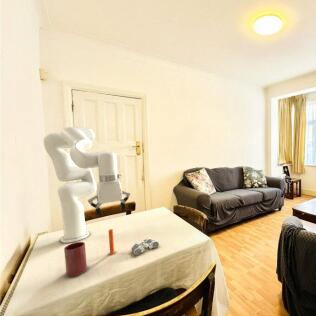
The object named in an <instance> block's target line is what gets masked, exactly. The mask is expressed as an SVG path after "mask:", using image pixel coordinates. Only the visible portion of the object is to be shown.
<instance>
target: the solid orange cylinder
mask: <svg viewBox="0 0 316 316" xmlns="http://www.w3.org/2000/svg"><path fill="white" fill-rule="evenodd" d="M108 240H109V241H108V243H109V254H110V255H114V254H115V242H114V241H115V240H114V229H113V228H109V229H108Z"/></svg>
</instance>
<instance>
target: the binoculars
mask: <svg viewBox="0 0 316 316" xmlns="http://www.w3.org/2000/svg"><path fill="white" fill-rule="evenodd" d="M159 245H160V242H159V241H157V240H154V239H152V238H151V237H148V238H147V239H144V240H142V241H141V242H140V243H138V242H135V243H134V244H133V245H132V246H131V248H130V249H131V251H132V252H133V254H134V255H135V256H139V255H141V253H143V252H144V251H145V248H149V249H151V250H152V249H155V248H158V247H159Z"/></svg>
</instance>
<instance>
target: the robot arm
mask: <svg viewBox="0 0 316 316" xmlns="http://www.w3.org/2000/svg"><path fill="white" fill-rule="evenodd" d="M95 139H96V134H95V132H94V130H92V129H91V128H89V127H83V126H82V127H81V126H79V127H78V126H68V127H64V128H63V129H62V130H61V131H60V132H53V133H52V132H51V133H47V134H45V136H44V137H43V146H44V150H45V152H46V153H47V154H48V156H49V157H50V159H51V161H52V165H53V168H54V171H55V175H56V177H57V180H58V181H60V182H63V183H64V184H62V185H60V186H59V187H58V189H57V196H58V198H59V201H60V206H61V216H62V227H63V236H62V237H60V242H61V243H64V244H65V243H66V244H68V243H76V242H79V241H81V240H84V239H86V238H87V237H88V236H89V235H90V231H88V230H86V220H85V207H84V204H83V203H82V202H81V201H80V199H83V198H86V197H90V198H89V199H87V202H88V204H89V205H90V206H91V207H92V208H94V209H95V215H96V216H98V217H99V218H100V217H101V216H102V214H101V205H103V204H109V203H114V202H119V201H120V204H119V205H120V211H121V212H122V213H123V212H125V210H126V202H127V201H128V200H129V198H130V196H131V193H130V192H128V191H124V190H123V189H122V184H121V181H120V178H122V174H118V159H117V154H116V152H112V151H111V152H107V151H90V150H91V148H92V147H93V142H94V141H95ZM65 149H69V152H67V151H66V150H65ZM94 168H98V181H97V183H96V180H95V176H94V174H93V171H92V169H94ZM80 180H81V181H80ZM72 181H73V182H72ZM74 181H75V182H74ZM65 182H68V183H65ZM123 195H124V196H125V197H123ZM91 196H92V197H91ZM94 201H96V203H94Z"/></svg>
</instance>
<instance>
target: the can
mask: <svg viewBox="0 0 316 316" xmlns="http://www.w3.org/2000/svg"><path fill="white" fill-rule="evenodd" d="M63 251H64V263H65V264H64V265H65V273H66V277H67V278H75V277H78V276H80V275H83V274H84V273H86V271H87V270H88V265H87V253H86V243H85V241H75V242H71V243H70V244H67V245H66V246H65V247H64V248H63Z"/></svg>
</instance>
